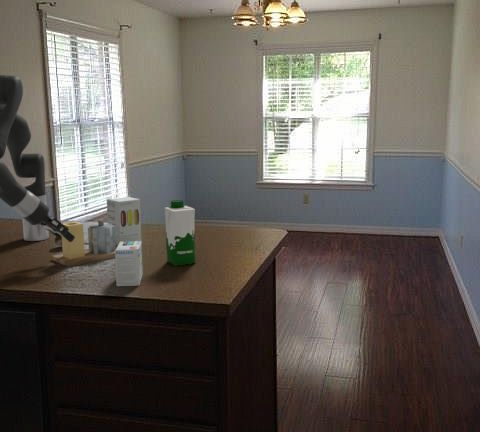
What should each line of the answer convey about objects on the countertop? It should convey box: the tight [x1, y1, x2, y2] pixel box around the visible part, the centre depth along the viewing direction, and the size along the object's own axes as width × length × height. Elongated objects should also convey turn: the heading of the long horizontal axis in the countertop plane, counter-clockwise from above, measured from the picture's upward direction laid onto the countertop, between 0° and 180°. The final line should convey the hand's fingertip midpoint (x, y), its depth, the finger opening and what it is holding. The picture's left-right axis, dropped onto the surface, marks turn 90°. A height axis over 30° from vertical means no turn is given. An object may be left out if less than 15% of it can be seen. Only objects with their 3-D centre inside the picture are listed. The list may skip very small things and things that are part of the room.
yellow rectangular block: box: [60, 221, 86, 259], centre depth 187 cm, size 5×5×11 cm
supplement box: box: [106, 196, 142, 247], centre depth 212 cm, size 10×9×17 cm
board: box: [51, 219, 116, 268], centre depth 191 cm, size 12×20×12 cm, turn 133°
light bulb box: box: [114, 240, 143, 287], centre depth 164 cm, size 11×7×11 cm, turn 5°
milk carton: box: [164, 199, 196, 267], centre depth 183 cm, size 9×9×20 cm
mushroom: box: [54, 236, 62, 247], centre depth 207 cm, size 8×8×6 cm
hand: (66, 237), depth 185 cm, fingers open, 8 cm apart
